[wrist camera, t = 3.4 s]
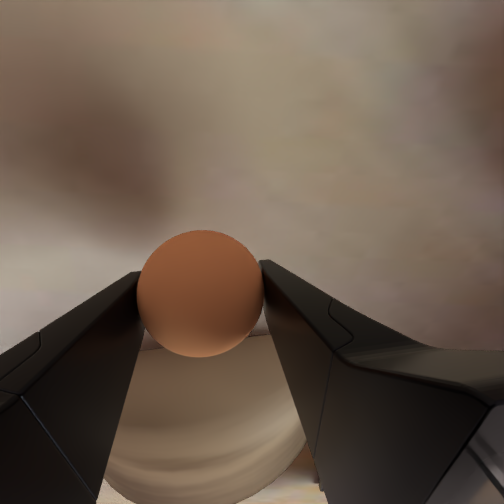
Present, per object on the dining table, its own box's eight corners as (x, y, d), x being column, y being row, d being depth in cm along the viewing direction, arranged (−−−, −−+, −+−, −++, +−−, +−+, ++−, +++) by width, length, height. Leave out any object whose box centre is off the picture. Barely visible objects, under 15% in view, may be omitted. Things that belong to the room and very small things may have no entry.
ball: (255, 296, 11) (275, 376, 8) (162, 306, 11) (139, 396, 7) (253, 209, 9) (279, 264, 6) (140, 217, 9) (95, 281, 5)
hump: (286, 289, 37) (371, 478, 17) (127, 306, 34) (20, 550, 15) (290, 224, 32) (411, 386, 13) (105, 238, 29) (-92, 467, 10)
